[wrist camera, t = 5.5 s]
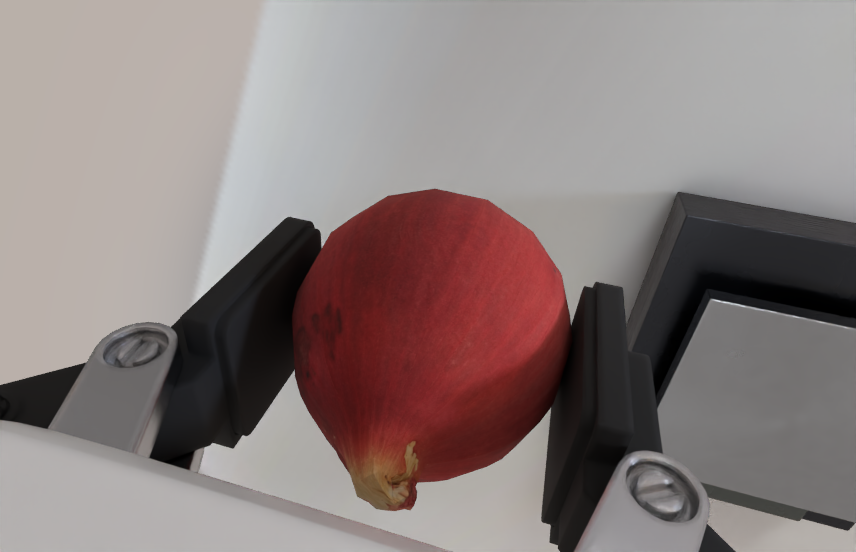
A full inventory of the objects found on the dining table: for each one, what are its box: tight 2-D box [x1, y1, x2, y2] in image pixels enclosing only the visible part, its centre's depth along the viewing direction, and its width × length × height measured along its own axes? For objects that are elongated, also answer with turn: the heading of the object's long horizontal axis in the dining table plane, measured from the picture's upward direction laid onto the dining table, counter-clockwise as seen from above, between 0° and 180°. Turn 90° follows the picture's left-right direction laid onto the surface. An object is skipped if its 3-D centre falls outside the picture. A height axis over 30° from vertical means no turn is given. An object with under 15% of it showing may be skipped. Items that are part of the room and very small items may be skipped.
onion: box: [292, 189, 573, 511], centre depth 11 cm, size 6×6×8 cm
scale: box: [626, 192, 856, 531], centre depth 24 cm, size 15×13×3 cm
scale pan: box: [656, 289, 856, 523], centre depth 22 cm, size 10×10×1 cm
